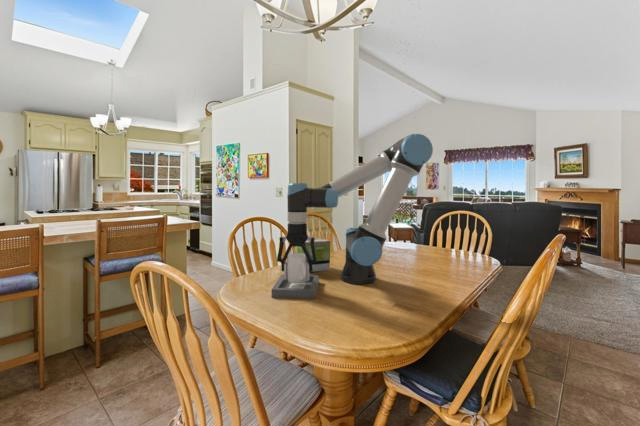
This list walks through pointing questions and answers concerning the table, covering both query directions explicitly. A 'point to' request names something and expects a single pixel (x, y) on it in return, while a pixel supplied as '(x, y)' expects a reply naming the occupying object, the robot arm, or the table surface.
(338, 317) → the table surface
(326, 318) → the table surface
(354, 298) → the table surface
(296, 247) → the tea box
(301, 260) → the mug
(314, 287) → the gray tray
